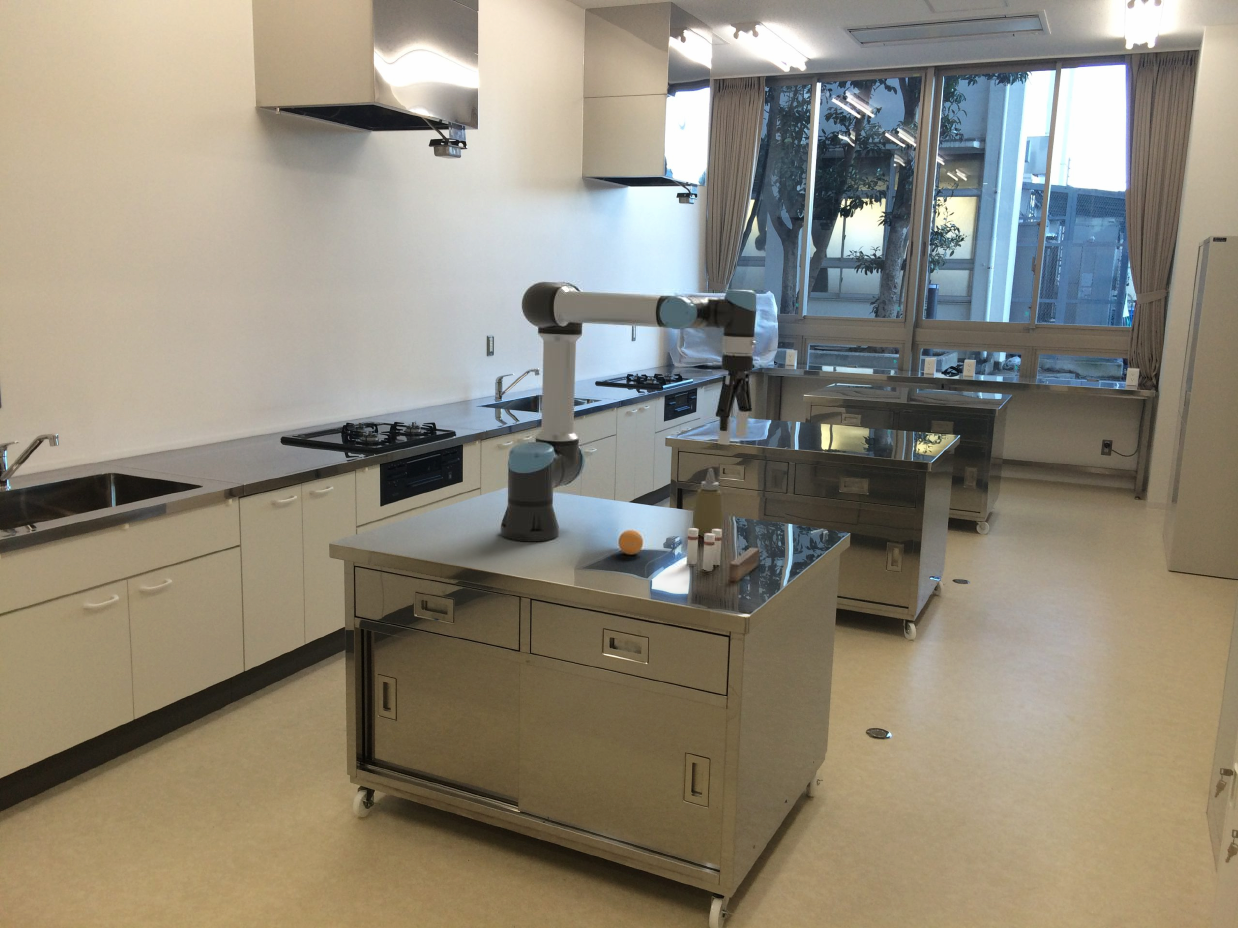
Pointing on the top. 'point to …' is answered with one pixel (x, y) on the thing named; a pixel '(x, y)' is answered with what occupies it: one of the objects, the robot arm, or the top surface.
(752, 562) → the wall
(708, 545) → the pin
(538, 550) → the top surface
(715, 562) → the pin
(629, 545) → the orange ball
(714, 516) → the squeeze bottle
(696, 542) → the front pin
